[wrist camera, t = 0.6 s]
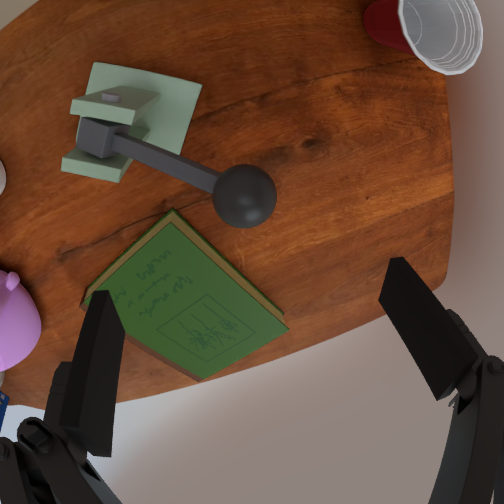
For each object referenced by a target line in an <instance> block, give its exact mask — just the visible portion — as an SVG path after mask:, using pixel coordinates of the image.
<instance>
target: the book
mask: <svg viewBox="0 0 504 504" xmlns="http://www.w3.org/2000/svg"><path fill="white" fill-rule="evenodd" d="M98 290H109V292H110V295H111V297H112V300H113V302H114V305H115V307H116V310H117V312H118V315H119V317H120V320H121V322H122V325H123V327H124V329H125V339H126V340H128V341H129V342H131V343H132V344H134V345H136V346H137V347H139V348H140V349H142V350H144V351H145V352H147V353H148V354H150V355H152V356H153V357H155V358H157V359H158V360H160V361H162V362H164V363H165V364H167V365H169V366H170V367H172V368H174V369H176V370H177V371H179V372H181V373H183V374H185V375H186V376H188V377H190V378H192V379H194V380H196V381H198V382H199V381H201V380H203V379H205V378H207V377H209V376H211V375H212V374H214V373H216V372H218V371H220V370H222V369H223V368H225V367H227V366H229V365H231V364H232V363H234V362H236V361H238V360H240V359H241V358H243V357H245V356H247V355H248V354H250V353H252V352H253V351H255V350H257V349H259V348H260V347H262V346H264V345H265V344H267V343H269V342H270V341H272V340H274V339H275V338H277V337H279V336H280V335H282V334H284V333H285V332H287V331H289V328H288V327H286V325H285V322H284V319H283V316H282V315H283V314H284V313H283V312H282V311H281V310H280V309H279V308H278V307H277V306H276V305H275V304H274V303H273V302H271V301H270V300H269V299H268V298H267V297H266V296H265V295H264V294H263V293H262V292H261V291H260V290H259V289H258V288H256V287H255V286H254V285H253V284H252V283H251V282H250V281H249V280H248V279H247V278H246V277H245V276H244V275H243V274H242V273H240V272H239V271H238V270H237V269H236V268H235V267H234V266H233V265H232V264H231V263H230V262H229V261H228V260H227V259H226V258H225V257H224V256H223V255H221V254H220V253H219V252H218V251H217V250H216V249H215V248H214V247H213V246H212V245H211V244H210V243H209V242H208V241H207V240H206V239H205V238H204V237H203V236H202V235H201V234H199V233H198V232H197V231H196V230H195V229H194V228H193V227H192V226H191V225H190V224H189V223H188V222H187V221H186V220H185V219H184V218H183V217H182V216H181V215H180V214H179V213H178V212H177V211H176V210H175V209H174V208H172V209H171V210H170V211H168V212H167V213H166V214H165V215H164V216H163V217H162V218H160V219H159V220H158V221H157V222H156V223H155V224H154V225H153V226H151V227H150V228H149V229H148V230H147V231H146V232H145V233H144V234H143V235H141V236H140V237H139V238H138V239H137V240H136V241H135V242H134V243H133V244H132V245H131V246H130V247H128V248H127V249H126V250H125V251H124V252H123V253H122V254H121V255H120V256H119V257H118V258H117V259H116V260H115V261H114V262H113V263H112V264H110V265H109V266H108V267H107V268H106V269H105V270H104V271H103V272H102V273H101V274H100V275H99V276H98V277H97V278H96V279H95V280H94V281H93V282H92V283H91V284H90V285H89V286H88V287H87V288H86V289H85V291H84V294H83V297H82V300H81V302H80V305H79V307H80V308H81V309H82V310H84V311H85V312H87V309H88V306H89V303H90V300H91V297H92V294H93V291H98Z"/></svg>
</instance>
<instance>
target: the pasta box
mask: <svg viewBox="0 0 504 504" xmlns="http://www.w3.org/2000/svg"><path fill="white" fill-rule="evenodd" d="M8 401H9V397H8V396H6V395H5V394H3V393H2V392H1V391H0V431H1V427H2V423H3V419H4V415H5V411H6V408H7V404H8Z"/></svg>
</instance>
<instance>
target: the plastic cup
mask: <svg viewBox="0 0 504 504" xmlns="http://www.w3.org/2000/svg"><path fill="white" fill-rule="evenodd" d="M363 24H364V27H365V30H366V32H367V33H368V34H369V36H370V37H371V38H372V39H374V40H375V41H376V42H378V43H380V44H382V45H385V46H389V47H391V48H394V49H397V50H400V51H403V52H406V53H409V54H412V55H415V56H416V57H418V58H420V59H421V60H422V61H423V62H424V63H425V64H426V65H427V66H428V67H429V68H431V69H432V70H435V71H438V72H440V73H443V74H446V75H453V74H461V73H463V72H465V71H466V70H467V69H469V68H470V67H471V66H473V65H474V64H475V61H476V59H477V57H478V56H479V54H480V52H481V49H482V39H483V28H482V22H481V17H480V13H479V11H478V9H477V7H476V5H475V3H474V1H473V0H376V1H375V2H373V3H372V4H370V5H368V7H367V8H366V10H365V12H364V13H363Z"/></svg>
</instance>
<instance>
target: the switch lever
mask: <svg viewBox="0 0 504 504" xmlns="http://www.w3.org/2000/svg"><path fill="white" fill-rule="evenodd" d="M129 129H130V125H128V124H123V123H118V122H113V121H108V120H103V119H98V118H92V117H81V121H80V126H79V131H78V136H77V142H76V147H77V148H79V149H82V150H84V151H86V152H88V153H91V154H93V155H95V156H97V157H99V158H105V157H109V156H114V155H118V154H123V155H125V156H128V157H130V158H132V159H135V160H137V161H139V162H141V163H144V164H146V165H148V166H151V167H153V168H155V169H157V170H160V171H162V172H164V173H166V174H169V175H171V176H173V177H175V178H178V179H180V180H182V181H184V182H186V183H189V184H191V185H193V186H195V187H197V188H200V189H202V190H204V191H206V192H208V193H211V194H212V200H213V205H214V208H215V210H216V212H217V214H218V215H219V217H220V218H221V219H222V220H223V221H225V222H226V223H227V224H229V225H231V226H234V227H237V228H252V227H255V226H258V225H260V224H262V223H263V222H264V221H266V220H267V219H268V218H269V217H270V215H271V214H272V212H273V210H274V208H275V206H276V201H277V191H276V187H275V184H274V182H273V180H272V179H271V177H270V176H269V175H268V174H267V173H266V172H265V171H264V170H262V169H261V168H259V167H257V166H254V165H249V164H241V165H236V166H233V167H230V168H229V169H227V170H225V171H224V172H223V173H220V172H218V171H215V170H213V169H211V168H208V167H206V166H204V165H201V164H199V163H197V162H194V161H192V160H190V159H187V158H185V157H182V156H180V155H178V154H175V153H173V152H170V151H168V150H165V149H163V148H160V147H158V146H156V145H153V144H150V143H148V142H145V141H143V140H140V139H138V138H135V137H133V136H130V135H128V133H129Z"/></svg>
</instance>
